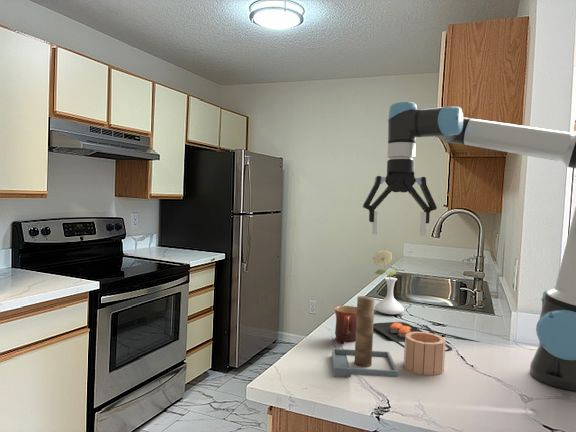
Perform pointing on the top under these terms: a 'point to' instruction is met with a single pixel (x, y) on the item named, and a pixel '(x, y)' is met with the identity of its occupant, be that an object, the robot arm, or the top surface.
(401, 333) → the sushi plate
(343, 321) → the mug
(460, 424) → the top surface
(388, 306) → the flower in vase
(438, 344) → the cup
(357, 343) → the peg
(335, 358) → the tray
